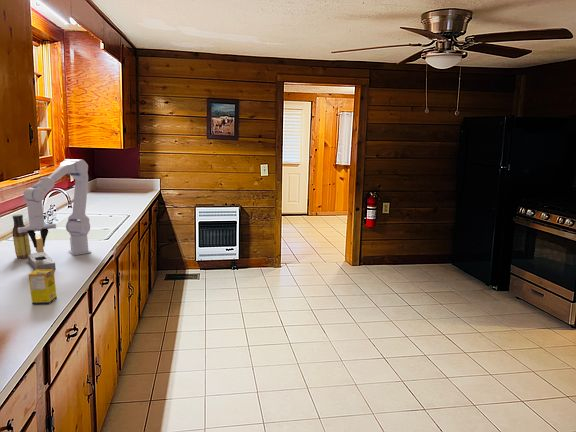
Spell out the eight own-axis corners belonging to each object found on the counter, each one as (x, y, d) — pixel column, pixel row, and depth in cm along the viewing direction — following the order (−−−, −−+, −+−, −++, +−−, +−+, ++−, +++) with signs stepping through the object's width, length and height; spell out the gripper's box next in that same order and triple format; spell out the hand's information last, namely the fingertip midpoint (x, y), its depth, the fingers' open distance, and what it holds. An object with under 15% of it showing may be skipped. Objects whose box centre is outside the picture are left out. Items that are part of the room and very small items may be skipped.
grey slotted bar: (27, 260, 218) (27, 254, 218) (44, 258, 223) (44, 251, 222) (37, 272, 201) (36, 265, 201) (55, 269, 205) (55, 262, 205)
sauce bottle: (27, 254, 229) (23, 213, 225) (33, 256, 225) (29, 214, 221) (13, 257, 224) (8, 215, 220) (18, 259, 220) (13, 216, 216)
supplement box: (57, 298, 172) (54, 268, 170) (49, 304, 166) (46, 273, 164) (39, 298, 172) (36, 268, 169) (31, 304, 166) (28, 274, 164)
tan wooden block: (35, 251, 211) (34, 237, 210) (42, 250, 213) (40, 236, 212) (37, 252, 208) (36, 239, 207) (43, 251, 210) (42, 238, 209)
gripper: (18, 219, 200) (22, 251, 203) (56, 215, 209) (59, 245, 211) (15, 216, 206) (19, 247, 208) (52, 212, 214) (55, 242, 217)
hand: (39, 246), depth 210 cm, fingers closed on tan wooden block, 2 cm apart
